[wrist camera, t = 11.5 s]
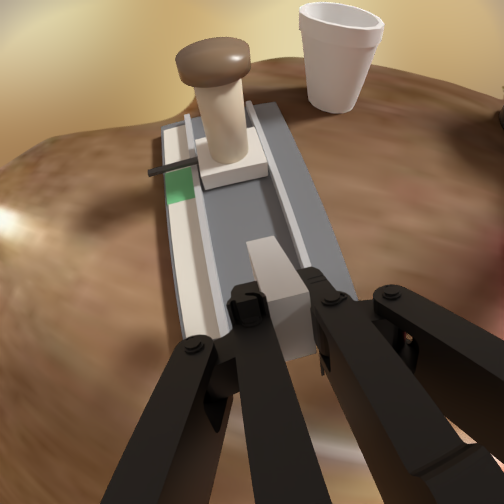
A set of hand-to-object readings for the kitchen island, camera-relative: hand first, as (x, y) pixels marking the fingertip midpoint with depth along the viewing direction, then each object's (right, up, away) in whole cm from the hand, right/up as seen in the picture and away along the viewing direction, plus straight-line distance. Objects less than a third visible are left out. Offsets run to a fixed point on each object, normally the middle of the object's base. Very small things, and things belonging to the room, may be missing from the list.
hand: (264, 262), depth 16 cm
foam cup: (+10, +21, +19) cm, 30 cm away
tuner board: (-2, +5, +12) cm, 14 cm away
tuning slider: (-5, +9, +12) cm, 16 cm away
